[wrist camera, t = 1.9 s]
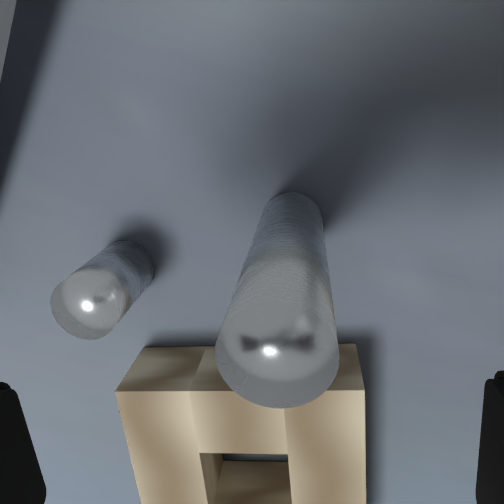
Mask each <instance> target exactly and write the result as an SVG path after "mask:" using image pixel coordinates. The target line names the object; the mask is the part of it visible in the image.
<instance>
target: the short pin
mask: <svg viewBox="0 0 504 504" xmlns="http://www.w3.org/2000/svg"><path fill="white" fill-rule="evenodd" d="M153 276H154V264H153V261H152V258H151V257H150V255H149V254H148V252H147V251H146V250H145V249H144V248H143V247H141V246H140V245H138V244H136V243H134V242H130V241H117V242H114V243H112V244H110V245H109V246H108V247H106V248H105V249H104V250H102V251H101V252H100V253H99V254H97V255H96V256H95V257H93V258H92V259H91V260H89V261H88V262H87V263H86V264H84V265H83V266H82V267H80V268H79V269H78V270H76V271H75V272H74V273H73V274H71V275H70V276H69V277H67V278H66V279H65V280H63V281H62V282H61V283H60V284H59V285H57V287H56V288H55V289H54V291H53V293H52V296H51V310H52V313H53V316H54V318H55V319H56V321H57V323H58V324H59V325H60V326H61V327H62V328H63V329H64V330H65V331H66V332H68V333H69V334H71V335H73V336H75V337H78V338H81V339H86V340H93V339H99V338H102V337H104V336H106V335H107V334H108V333H109V332H110V331H111V330H112V329H113V328H114V327H115V326H116V324H117V323H118V322H119V321H120V319H121V318H122V317H123V316H124V315H125V313H126V312H127V311H128V310H129V308H130V307H131V306H132V305H133V304H134V302H135V301H136V300H137V299H138V298H139V296H140V295H141V294H142V293H143V291H144V290H145V289H146V288H147V287H148V285H149V284H150V283H151V281H152V279H153Z"/></svg>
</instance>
